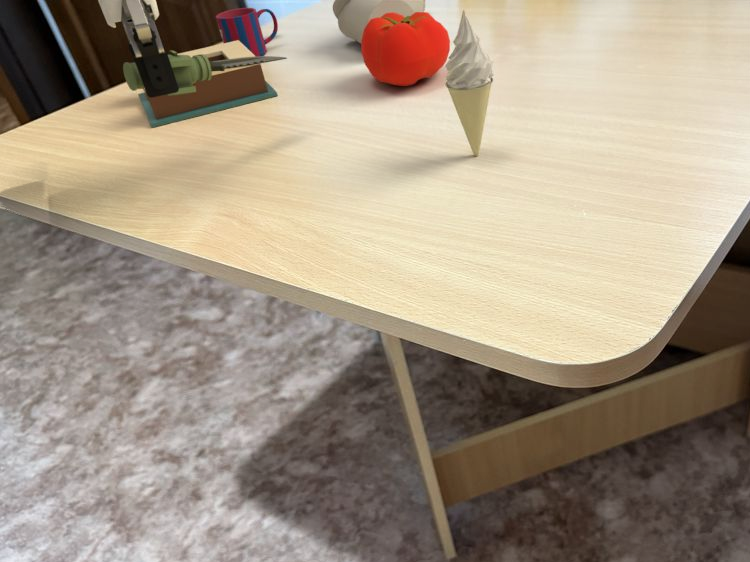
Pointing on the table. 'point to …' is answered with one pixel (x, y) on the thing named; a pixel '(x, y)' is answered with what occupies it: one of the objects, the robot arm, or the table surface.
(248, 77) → the tissue dispenser
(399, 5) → the bent grey cylinder
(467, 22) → the ice cream cone
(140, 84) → the knife
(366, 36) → the tomato
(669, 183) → the table surface
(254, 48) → the mug
